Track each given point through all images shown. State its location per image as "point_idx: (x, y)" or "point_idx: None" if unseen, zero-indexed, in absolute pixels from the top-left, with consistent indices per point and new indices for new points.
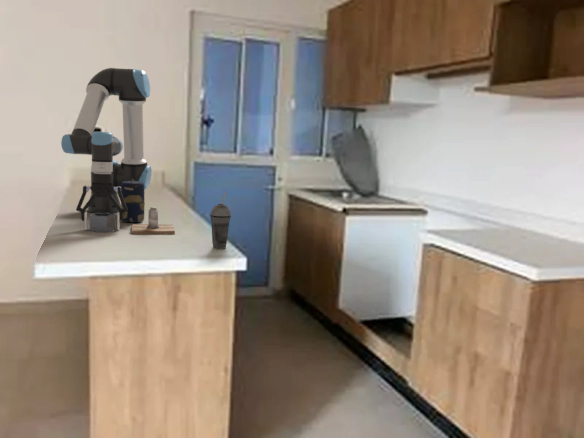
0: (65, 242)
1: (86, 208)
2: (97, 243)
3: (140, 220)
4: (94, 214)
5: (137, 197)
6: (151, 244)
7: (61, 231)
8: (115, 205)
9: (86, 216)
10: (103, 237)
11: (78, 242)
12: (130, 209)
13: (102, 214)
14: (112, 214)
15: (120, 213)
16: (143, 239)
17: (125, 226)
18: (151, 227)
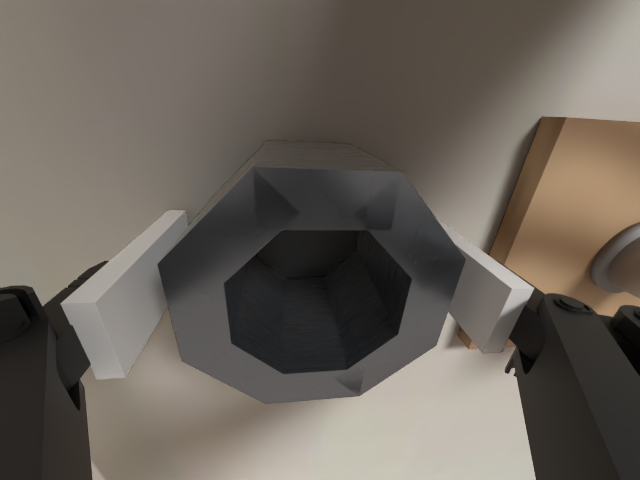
0: (173, 476)
1: (80, 442)
2: (297, 471)
3: None
4: (226, 317)
5: None
6: (469, 458)
7: None
8: (546, 459)
9: (146, 341)
10: (317, 401)
11: (224, 470)
12: None
13: (319, 224)
14: (433, 294)
15: (508, 366)
16: (470, 412)
17: (503, 72)
18: (607, 291)
